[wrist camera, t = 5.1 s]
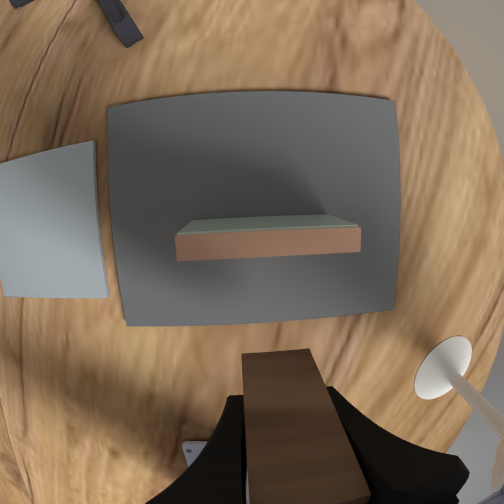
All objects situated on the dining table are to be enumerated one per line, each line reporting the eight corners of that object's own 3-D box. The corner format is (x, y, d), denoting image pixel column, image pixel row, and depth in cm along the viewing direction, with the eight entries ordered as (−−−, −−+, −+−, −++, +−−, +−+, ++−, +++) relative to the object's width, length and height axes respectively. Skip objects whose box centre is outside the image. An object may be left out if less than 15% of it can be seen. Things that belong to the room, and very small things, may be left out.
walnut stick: (305, 398, 14) (349, 535, 6) (244, 404, 14) (254, 549, 6) (308, 348, 13) (371, 494, 5) (241, 353, 13) (250, 514, 5)
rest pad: (110, 295, 19) (107, 297, 18) (7, 294, 18) (4, 296, 18) (95, 141, 16) (93, 140, 16) (-9, 167, 16) (-12, 167, 16)
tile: (328, 234, 18) (360, 251, 13) (192, 240, 18) (176, 261, 13) (328, 214, 18) (361, 225, 13) (191, 219, 17) (174, 233, 13)
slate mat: (391, 307, 20) (393, 309, 19) (128, 323, 19) (126, 326, 19) (392, 102, 17) (395, 100, 16) (110, 108, 16) (107, 107, 16)
